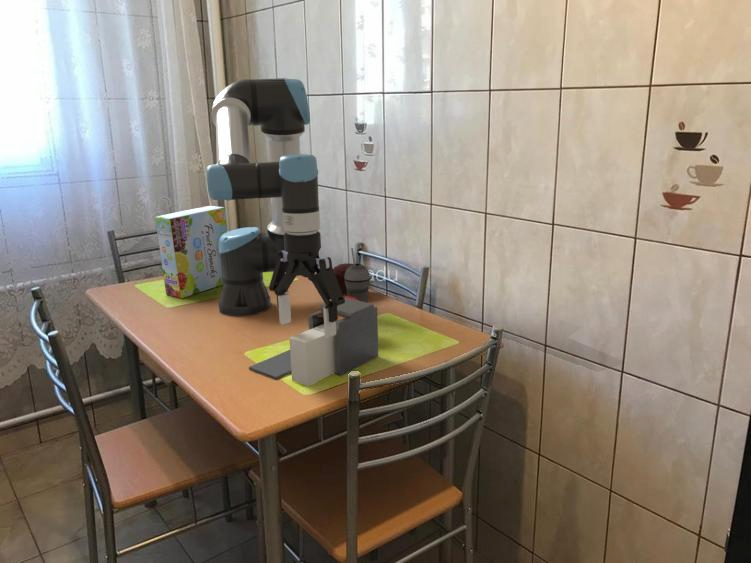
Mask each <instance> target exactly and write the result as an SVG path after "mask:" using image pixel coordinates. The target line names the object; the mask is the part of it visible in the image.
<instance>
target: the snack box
mask: <svg viewBox="0 0 751 563" xmlns="http://www.w3.org/2000/svg"><path fill="white" fill-rule="evenodd" d="M225 210H226V209H225V207H224V206H216V205H207V206H201V207H197V208H192V209H191V208H190V209H186V210H181V211H176V212H172V213H167V214H162V215H156V216H155V217H154V219H155V225H156V233H157V239H158V240H157V241H158V247H159V254H160V261H161V267H162V274H163V283H164V289H165V295H166V294H168V295H167V296H170V295H171V296H170V297H174V296H175V298H178V297H179V298H178V299H181V298H182V299H184V298H187V297H189V296H192V295H196V294H199V293H202V292H204V291H208V290H210V289H214V288H218V287H220V286H223V280H222V269H221V256H220V253H219V250H220V245H219V240H220V237H221V236H222V235H223V234H225V233H227V232H228V228H227V218H226V217H227V216H226V211H225Z"/></svg>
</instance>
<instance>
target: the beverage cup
mask: <svg viewBox="0 0 751 563" xmlns="http://www.w3.org/2000/svg"><path fill="white" fill-rule="evenodd" d="M350 250H351V257H352V262H353V263H352V264H353V265H351V266H349V267H348V268H347V270H346V272H345V277H344V280H345V285H346V289H347V296H351V297H354V298H357V299H358V300H359V301H362V302H366V303H369V301H368V300H369V288H370V282H371V275H370V271H369V270H368V268H367V267H366V265H364V264H361V263H356V260H355V254H354V248H353V247H351V248H350Z"/></svg>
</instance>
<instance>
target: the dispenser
mask: <svg viewBox="0 0 751 563" xmlns="http://www.w3.org/2000/svg"><path fill="white" fill-rule="evenodd" d="M344 299H345V303H343V304H341V305H338V306H337V316H338V319H337V321H336V335H335V345H336V369H337V372H336V375H337V376H341V377H342V376H343V375H346V374H348V373H349V372H351V371H353V370H355V369H357V368H359V367H361V366H363V365H365V364H367V363H369V362H371V361H373V360H375V359H377V358H379V331H378V330H379V328H378V320H379V318H378V307H377V306H375V304H373V303H370V302H368V303H366V302H362V301H358V300H354V299H350V298H345V297H344ZM325 306H326V304H325V303H324V304H322V305H320V310H318V311H315V312H312V313H309V314H308V330H310V329H312V328H315V327H317V326H320V325H322V324H324V312H323V307H325Z"/></svg>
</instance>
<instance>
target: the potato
mask: <svg viewBox="0 0 751 563" xmlns="http://www.w3.org/2000/svg"><path fill="white" fill-rule="evenodd" d="M351 265H353V263H349V262H345V263H340V264H338V265H336V266H335V267H332V268H333V271H334V274H335V276H336V279H337V281H338V284H339V286H340V289H341V291H342V294H343V296H344V293H345V296H347V289H346V285H345V280H344V277H345V272H346V270H347V268H348V267H349V266H351Z"/></svg>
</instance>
